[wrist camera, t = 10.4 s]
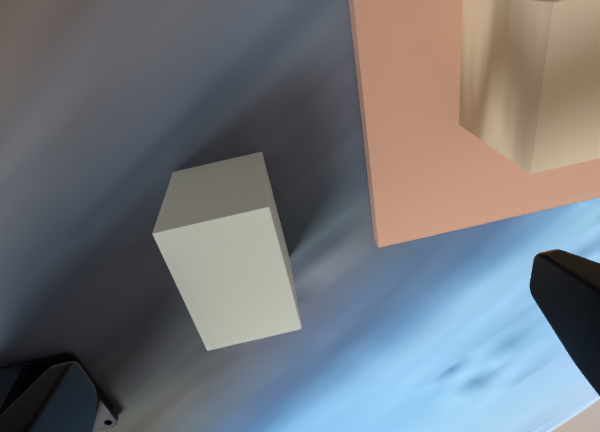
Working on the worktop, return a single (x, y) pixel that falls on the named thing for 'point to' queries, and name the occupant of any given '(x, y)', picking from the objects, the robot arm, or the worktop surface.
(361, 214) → the worktop surface
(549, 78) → the beech block
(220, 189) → the sage block
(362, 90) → the terracotta tile
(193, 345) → the worktop surface
